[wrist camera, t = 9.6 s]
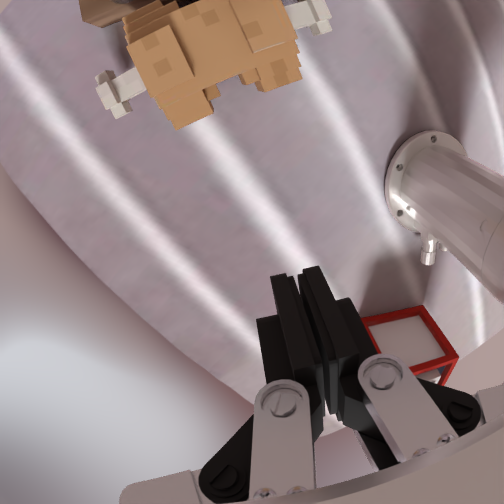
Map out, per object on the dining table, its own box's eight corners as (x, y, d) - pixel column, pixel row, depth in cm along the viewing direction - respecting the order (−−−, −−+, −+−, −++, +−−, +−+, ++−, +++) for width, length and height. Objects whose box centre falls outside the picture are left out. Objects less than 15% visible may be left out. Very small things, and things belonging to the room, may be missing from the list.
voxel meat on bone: (104, 51, 24) (58, 44, 15) (283, -24, 22) (312, -60, 13) (147, 137, 29) (118, 165, 20) (321, 65, 27) (366, 64, 18)
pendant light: (346, 368, 50) (406, 534, 24) (356, 318, 44) (444, 515, 18) (406, 354, 50) (478, 499, 24) (422, 304, 44) (523, 467, 19)
